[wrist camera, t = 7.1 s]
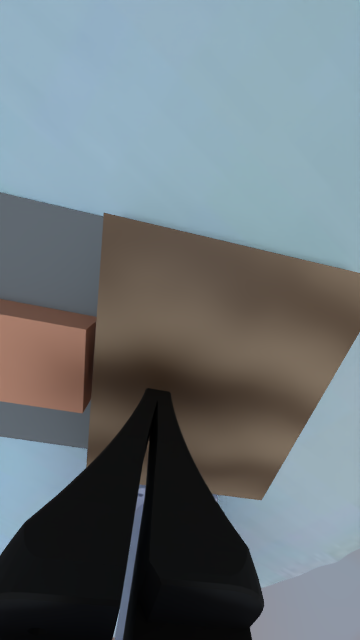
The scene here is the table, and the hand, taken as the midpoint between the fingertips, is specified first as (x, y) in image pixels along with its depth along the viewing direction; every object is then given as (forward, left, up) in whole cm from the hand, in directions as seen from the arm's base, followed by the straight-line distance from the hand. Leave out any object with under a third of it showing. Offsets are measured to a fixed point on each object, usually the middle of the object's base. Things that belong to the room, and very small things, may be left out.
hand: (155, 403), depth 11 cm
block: (0, +9, -3) cm, 9 cm away
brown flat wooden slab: (0, -3, -3) cm, 5 cm away
